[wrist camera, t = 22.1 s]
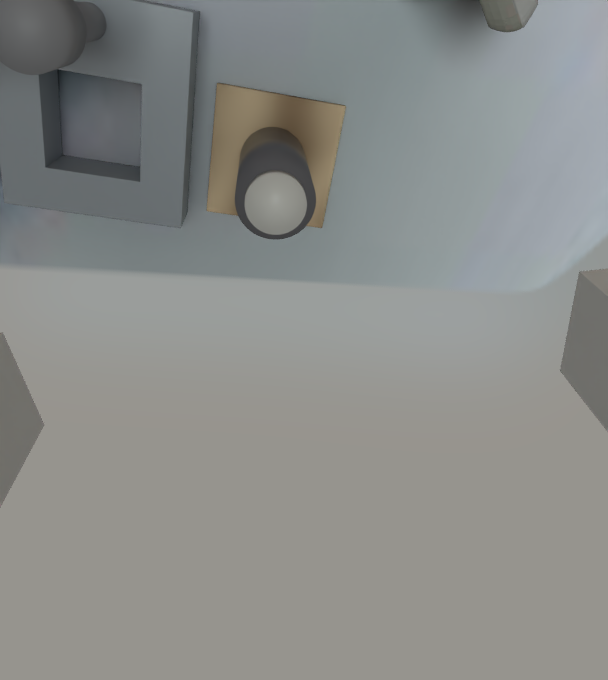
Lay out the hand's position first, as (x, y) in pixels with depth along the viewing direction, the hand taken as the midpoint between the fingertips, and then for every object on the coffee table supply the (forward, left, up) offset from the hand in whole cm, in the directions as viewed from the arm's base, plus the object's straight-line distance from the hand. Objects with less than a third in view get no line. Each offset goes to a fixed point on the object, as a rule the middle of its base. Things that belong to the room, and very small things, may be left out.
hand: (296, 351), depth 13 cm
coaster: (0, -3, -31) cm, 31 cm away
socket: (-12, -2, -31) cm, 33 cm away
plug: (0, -3, -30) cm, 30 cm away
